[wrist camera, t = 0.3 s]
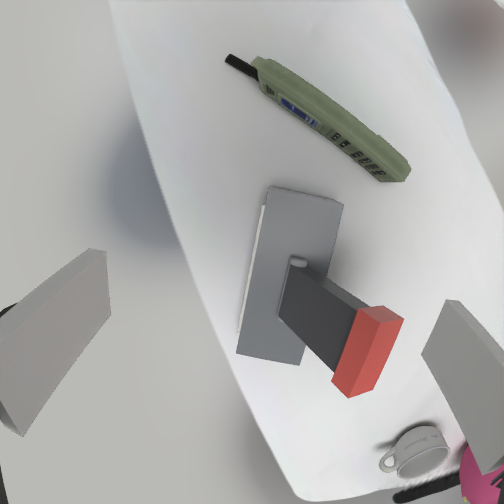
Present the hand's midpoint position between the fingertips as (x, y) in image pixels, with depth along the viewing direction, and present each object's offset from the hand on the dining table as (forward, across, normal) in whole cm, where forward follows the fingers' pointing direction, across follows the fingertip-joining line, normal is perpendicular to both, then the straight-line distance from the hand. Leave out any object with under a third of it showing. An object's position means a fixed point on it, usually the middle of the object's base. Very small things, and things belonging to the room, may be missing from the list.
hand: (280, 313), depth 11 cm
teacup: (+22, +34, -40) cm, 57 cm away
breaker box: (+27, +3, -10) cm, 29 cm away
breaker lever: (+21, +3, -9) cm, 23 cm away
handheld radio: (+29, +3, +10) cm, 31 cm away
